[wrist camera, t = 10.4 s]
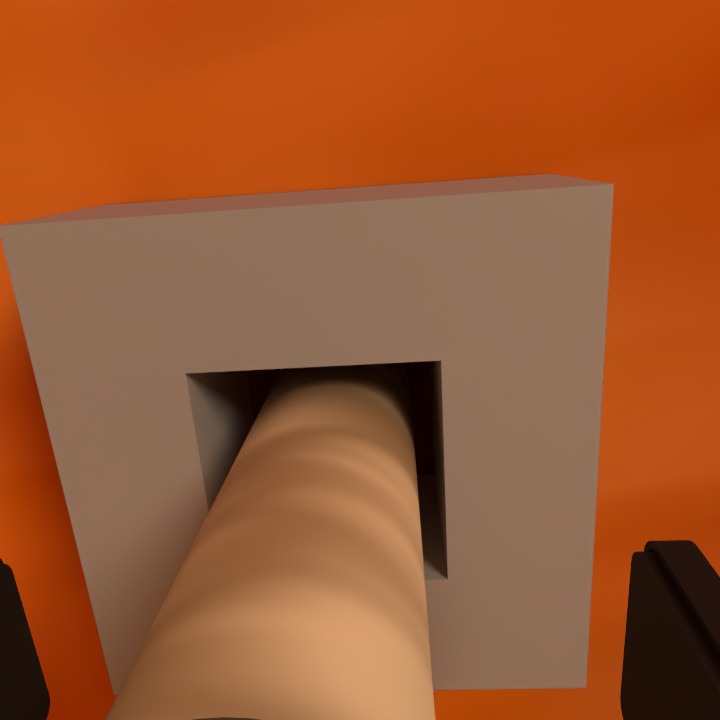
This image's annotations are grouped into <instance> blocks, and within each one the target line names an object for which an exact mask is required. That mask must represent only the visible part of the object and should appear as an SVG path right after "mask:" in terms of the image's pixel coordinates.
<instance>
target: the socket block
mask: <svg viewBox="0 0 720 720" xmlns="http://www.w3.org/2000/svg"><path fill="white" fill-rule="evenodd" d="M613 191H614V184H610V183H604V182H598V181H592V180H585V179H579V178H573V177H567V176H560V175H554V174H540V175H526V176H512V177H497V178H483V179H469V180H454V181H440V182H426V183H411V184H397V185H383V186H368V187H354V188H340V189H325V190H311V191H297V192H282V193H268V194H254V195H239V196H225V197H211V198H196V199H182V200H168V201H153V202H139V203H125V204H110V205H102V206H97V207H92V208H87V209H82V210H77V211H72V212H67V213H62V214H57V215H52V216H47V217H41V218H36V219H31V220H26V221H21V222H16V223H11V224H6V225H1V226H0V237H1V241H2V246H3V250H4V254H5V258H6V262H7V266H8V270H9V274H10V278H11V282H12V286H13V290H14V294H15V298H16V302H17V306H18V310H19V314H20V318H21V322H22V326H23V330H24V334H25V338H26V342H27V347H28V351H29V355H30V359H31V363H32V367H33V371H34V375H35V379H36V383H37V387H38V391H39V395H40V399H41V403H42V407H43V411H44V415H45V419H46V423H47V427H48V431H49V435H50V439H51V443H52V448H53V452H54V456H55V460H56V464H57V468H58V472H59V476H60V480H61V484H62V488H63V492H64V496H65V500H66V504H67V508H68V512H69V516H70V520H71V524H72V528H73V532H74V536H75V540H76V544H77V549H78V553H79V557H80V561H81V565H82V569H83V573H84V577H85V581H86V585H87V589H88V593H89V597H90V601H91V605H92V609H93V613H94V617H95V621H96V625H97V629H98V633H99V637H100V641H101V645H102V650H103V654H104V658H105V662H106V666H107V670H108V674H109V678H110V682H111V686H112V690H113V694H114V695H118V693H119V691H120V689H121V687H122V685H123V683H124V681H125V679H126V677H127V675H128V673H129V671H130V669H131V667H132V665H133V663H134V661H135V659H136V657H137V655H138V653H139V651H140V649H141V647H142V645H143V643H144V641H145V639H146V637H147V635H148V633H149V631H150V629H151V627H152V625H153V623H154V621H155V619H156V617H157V615H158V613H159V611H160V609H161V607H162V605H163V603H164V601H165V599H166V597H167V595H168V593H169V591H170V589H171V587H172V585H173V583H174V581H175V579H176V577H177V575H178V573H179V571H180V569H181V567H182V565H183V563H184V561H185V559H186V557H187V555H188V553H189V551H190V549H191V547H192V545H193V543H194V541H195V539H196V537H197V535H198V533H199V531H200V529H201V527H202V525H203V523H204V521H205V519H206V517H207V515H208V513H209V511H210V509H211V507H212V505H213V503H214V501H215V499H216V497H217V495H218V493H219V492H220V490H221V488H222V486H223V484H224V482H225V480H226V478H227V476H228V474H229V472H230V470H231V468H232V466H233V464H234V462H235V460H236V458H237V456H238V454H239V452H240V450H241V448H242V446H243V444H244V442H245V440H246V438H247V436H248V434H249V432H250V430H251V428H252V426H253V424H254V419H253V412H252V404H251V397H250V389H249V382H248V374H247V370H265V369H284V368H304V367H324V366H344V365H363V364H383V363H403V362H423V361H430V372H431V399H432V426H433V454H434V474H432V475H417V485H418V498H419V512H420V525H421V538H422V551H423V564H424V577H425V591H426V604H427V617H428V630H429V643H430V656H431V669H432V683H433V690H475V689H540V688H586V679H587V661H588V643H589V625H590V607H591V589H592V571H593V553H594V535H595V517H596V498H597V480H598V462H599V444H600V426H601V408H602V390H603V372H604V354H605V336H606V317H607V299H608V281H609V263H610V245H611V227H612V209H613Z"/></svg>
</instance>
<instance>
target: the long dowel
mask: <svg viewBox="0 0 720 720" xmlns="http://www.w3.org/2000/svg"><path fill="white" fill-rule="evenodd" d="M105 720H435V709H434V696H433V683H432V669H431V656H430V643H429V630H428V617H427V604H426V591H425V577H424V564H423V551H422V538H421V525H420V512H419V498H418V485H417V472H416V459H415V446H414V433H413V420H412V406H411V393H410V385H409V381H408V377H407V374H406V372H405V369H404V367H403V366H402V364H401V363H383V364H363V365H344V366H324V367H304V368H284V369H281V370H280V372H279V374H278V376H277V378H276V380H275V382H274V384H273V386H272V388H271V390H270V392H269V394H268V396H267V398H266V400H265V402H264V404H263V406H262V408H261V410H260V412H259V414H258V416H257V418H256V420H255V422H254V424H253V426H252V428H251V430H250V432H249V434H248V436H247V438H246V440H245V442H244V444H243V446H242V448H241V450H240V452H239V454H238V456H237V458H236V460H235V462H234V464H233V466H232V468H231V470H230V472H229V474H228V476H227V478H226V480H225V482H224V484H223V486H222V488H221V490H220V492H219V493H218V495H217V497H216V499H215V501H214V503H213V505H212V507H211V509H210V511H209V513H208V515H207V517H206V519H205V521H204V523H203V525H202V527H201V529H200V531H199V533H198V535H197V537H196V539H195V541H194V543H193V545H192V547H191V549H190V551H189V553H188V555H187V557H186V559H185V561H184V563H183V565H182V567H181V569H180V571H179V573H178V575H177V577H176V579H175V581H174V583H173V585H172V587H171V589H170V591H169V593H168V595H167V597H166V599H165V601H164V603H163V605H162V607H161V609H160V611H159V613H158V615H157V617H156V619H155V621H154V623H153V625H152V627H151V629H150V631H149V633H148V635H147V637H146V639H145V641H144V643H143V645H142V647H141V649H140V651H139V653H138V655H137V657H136V659H135V661H134V663H133V665H132V667H131V669H130V671H129V673H128V675H127V677H126V679H125V681H124V683H123V685H122V687H121V689H120V691H119V693H118V695H117V697H116V699H115V700H114V702H113V704H112V706H111V708H110V710H109V712H108V714H107V716H106V718H105Z"/></svg>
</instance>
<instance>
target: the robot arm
mask: <svg viewBox="0 0 720 720" xmlns="http://www.w3.org/2000/svg"><path fill="white" fill-rule="evenodd" d="M49 707H50V698H49V693H48V690H47V686H46V683H45V679H44V676H43V673H42V669H41V666H40V663H39V659H38V656H37V653H36V649H35V646H34V642H33V639H32V636H31V632H30V629H29V626H28V622H27V619H26V615H25V612H24V609H23V605H22V602H21V599H20V595H19V592H18V588H17V585H16V582H15V578H14V575H13V572H12V570H11V568H10V567H9V566H8V565H7V564H3V561H2V559H0V720H46V719H47V716H48V712H49ZM621 710H622V715H623V719H624V720H720V577H719V576H718V574H717V573H716V572H715V570H714V569H713V567H712V566H711V565H710V563H709V562H708V561H707V559H706V558H705V556H704V555H703V554H702V552H701V551H700V550H699V548H698V547H697V546H696V545H695V544H694V543H693V542H692V541H689V540H675V541H649V542H647V543H646V545H645V548H644V552H635V553H634V554H633V556H632V561H631V573H630V585H629V597H628V610H627V622H626V634H625V646H624V659H623V671H622V683H621Z"/></svg>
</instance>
